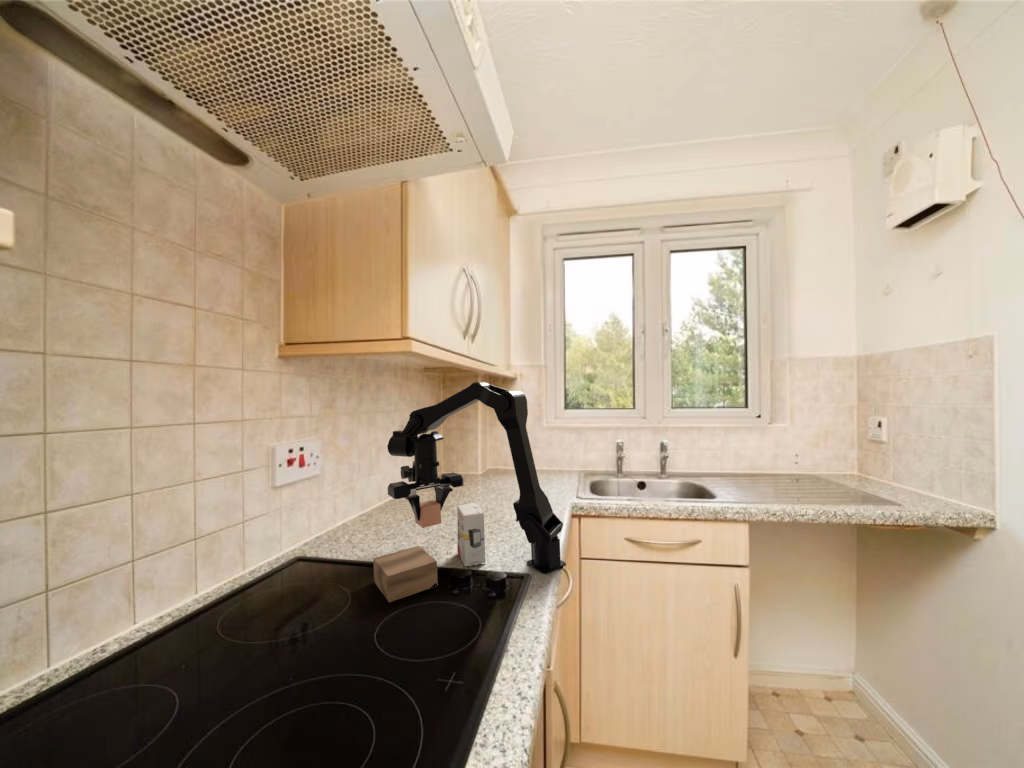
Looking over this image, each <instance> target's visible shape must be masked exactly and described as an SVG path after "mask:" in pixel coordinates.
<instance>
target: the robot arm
mask: <svg viewBox="0 0 1024 768" xmlns="http://www.w3.org/2000/svg"><path fill="white" fill-rule="evenodd" d="M477 402H481V403H482V404H483V405H485V406H487V407H488V408H489V407H490V408H492V409H493V410H494V412H495V416H496V418H497V420H498V422H499V424H501V426H502V428H503V429H504V430H505V432H506V437H507V440H508V445H509V446H508V447H509V449H510V454H511V458H512V463H513V467H514V472H515V477H516V481H517V485H518V489H519V498H518V499H517V500H516V501H514V502H513V504H512V505H513V506H512V507H513V509H514V512H515V517H516V518H515V522H516V523H517V522H518V523H519V526H520V528H521V530H522V531H524V533H525V536H526V539H527V542H528V543H529V544H530V548H531V549H530V552H531V559H529V560H527V561H526V565H528V566H530V567H531V566H532V568H533V569H535V570H537V571H538V572H540V573H542V574H549V573H551V572H552V571H553V572H554V571H556V570H558V569H561V568H563V567H566V566H567V562H566V561H564V560H562V559H561V541H560V540H561V539H560V538H559V536H558V534H560V533H561V532H562V530H563V527H564V523H563V522H562V521H561V519H560V518H559V517H558V516H557V514H555V513H554V511H553V508H552V506H551V503H550V500H549V498H548V496H547V495H546V493H545V492H544V491H543V490H542V487H541V486H540V481H539V477H538V473H537V469H536V464H535V460H534V455H533V451H532V447H531V443H530V439H529V434H528V429H527V420H528V413H529V412H528V411H529V410H528V409H529V408H528V400H527V396H526V395H525V394H524V392H522V391H520V390H518V389H516V390H515V389H514V390H513V389H512V390H509V389H505V388H503V387H500V386H497V385H496V386H495V385H493V384H491V383H488V382H487V381H475V382H472V383H471V384H470V385H469V386H466V387H465V388H463V389H462V390H460V391H458V392H456V393H454V394H453V395H450V396H449V397H447V398H445V399H443V400H442V401H440V402H438V403H437V404H434V405H429V406H426V407H425V406H424V407H422V408H418V409H416V410H413V411H411V413H410V414H409V418H408V421H407V423H406V425H405V426H404V428H403V430H394V431H392V436H391V437H390V438H389V440H388V443H387V451H388V454H389V455H390V456H392V457H407V458H412V457H413V459H414V461H412V466H411V467H410V466H409V465H403V466H401V467H400V478H401V479H402V481H396V482H391V483H389V484H388V486H387V495H388V496H389V497H391V498H392V499H393V500H398V499H399V500H400V499H406V500H407V501H408V503H409V504H410V507H411V509H412V511H413V514H414V518H415V517H416V519H417V520H418V521H419V520H420V499H421V498H420V495H419V494H417V491H421V490H426V489H430V488H433V490H434V492H435V501H436V502H438V503H440V506H441V511H442V510H443V507H444V504H445V502H446V500H447V498H448V496H449V495H450V493H451V492H453V490H454V489H453V488H459V487H463V486H464V482H465V481H464V477H463V476H462V475H461V474H459V473H456V472H454V471H453V472H448V473H443V474H442V475H441V476H440V477H439V476H438V474H439V473H438V467H439V466H440V462H439V461H438V450H437V447H438V446H437V442H439V441H442V440H444V436H443V435H441V434H440V433H439V432H438V430H436V429H437V428H439V427H440V426H441V425H442V424H444V423H445V421H446V420H447V419H448V418H449V417H450V416H452V415H454V414H456V413H458V412H460V411H462V410H463V409H465V408H467V407H469V406H471V405H473V404H475V403H477ZM429 431H431V432H430V433H428V432H429ZM405 479H407V480H408V483H407V482H405V481H403V480H405Z"/></svg>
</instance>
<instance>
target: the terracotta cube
mask: <svg viewBox="0 0 1024 768" xmlns="http://www.w3.org/2000/svg"><path fill="white" fill-rule="evenodd" d="M441 511H442V510H441V506H440V503H438V502H436V500H435V499H429V500H423V501H421V502H420V520H419V521H418V520H417V519H416V517H415V516H414V521H415V524H417V525H418V526H419V527H421V528H422V529H424V528H428V527H432V526H435V525H436V526H437V525H441V524H442V513H441Z"/></svg>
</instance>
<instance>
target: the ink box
mask: <svg viewBox="0 0 1024 768" xmlns="http://www.w3.org/2000/svg"><path fill="white" fill-rule="evenodd" d="M485 544H486V543H485V513H484V511H483V510H482V509H481V507H480V506H479V505H478V503H476V502H475V503H474V502H473V503H465V504H460V505H457V553H458V556H459V559H460V560H461V562H462V564H463V565H464V567H465V566H469V567H472V566H471V565H475V566H478V565H477V564H481V565H483V564H482V563H485V564H486V545H485Z"/></svg>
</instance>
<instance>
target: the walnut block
mask: <svg viewBox="0 0 1024 768" xmlns="http://www.w3.org/2000/svg"><path fill="white" fill-rule="evenodd" d="M438 579H439V578H438V561H437V560H436V559H435V558H434V557H432V556H431V555H430V554H429V553H428V552H426V551H425V550H424V549H423V548H422V547H421V546H419V545H417V546H413V547H409V548H406V549H401V550H399V551H394V552H391V553H389V554H387V553H386V554H384V555H381V556H378V557H374V558H373V582H374V584H375V585H376V586H377V589H379V590H380V593H381V594H382V595H383V597H384V598H385V599H386V601H387V602H388V603H392V602H395V601H398V600H400V599H403V598H406V597H410V596H412V595H416V594H417V593H421V592H424V591H427V590H429V589H432V588H433V587H432V586H433V585H434V584H435V583H436V584H437V586H436V587H438V585H439V582H438ZM431 587H432V588H431Z"/></svg>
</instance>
